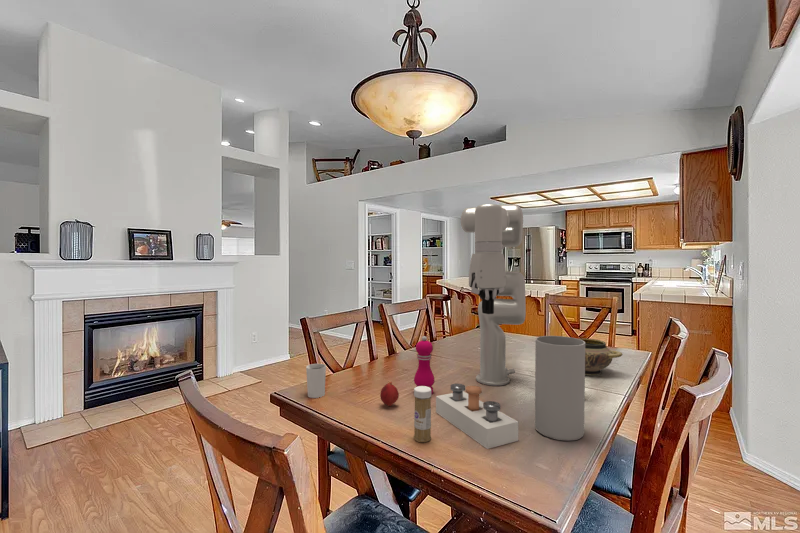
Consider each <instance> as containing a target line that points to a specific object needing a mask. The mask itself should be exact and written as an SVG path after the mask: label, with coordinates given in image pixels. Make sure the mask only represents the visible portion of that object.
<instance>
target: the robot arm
mask: <svg viewBox="0 0 800 533" xmlns="http://www.w3.org/2000/svg"><path fill="white" fill-rule="evenodd" d="M460 226H461V229H462V231H463V232H464V233H468V234H469V233H471V234H472V233H474V253H472V254H471V258H470V263H469V270H468V272H469V273H468V287H470V288H471V290H470V291H471V294H475V295H478V296H479V299H480V300H481V301H480V302H479V303H478V305H477V313H478V314H477V315H478V320H479V321H478V322H479V334H480V336H479V337H480V339H479V341H480V342H479V350H480V351H479V355H480V356H479V373H478V374H477V375H476V376H475V380H476V381H477V383H480V384H482V385H487V386H496V387H498V386H506V385H508V384H509V383H510V377H509V376H510V375H512V374H513V375H515V374H516V370H515V368H509V369H508V368H507V367H506V348H507V347H506V346H507V344H506V343H507V342H506V341H507V340H506V339H507V338H506V333H505V332H504V330H503V329H502V327H500V325H512V326H513V325H516V326H517V325H522V324H524V323H525V321H526V315H527V314H526V312H527V309H526V306H527V305H526V304H527V303H526V281H525V276H524V275H523V273H522V272H520V271H509V270H508V271H507V270H506V259H505V256H504V253H503V250H504V249H505V248H515V247H516V248H517V247H519V246H520V245H521V244H522V243H523V236H524V235H523V233H524V213H523V209H522V208H521V207H520V205H518V204H514V203H513V204H511V203H510V204H495V203H487V204H486V203H485V204H479V205H477V206H475V207H465V208H463V211H462V212H461V215H460ZM497 296H498V297H500V296H501V297H511V298H512V299H509V298H497Z"/></svg>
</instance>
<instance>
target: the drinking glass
mask: <svg viewBox="0 0 800 533" xmlns="http://www.w3.org/2000/svg"><path fill="white" fill-rule="evenodd" d="M305 367H306V368H305V370H306V372H305V373H306V386H307V387H306V390H307V397H308V398H311V399H318V398H319V397H320V398H323V397H324V396H325V394H326V374H327V373H326V372H327V370H326V369H327V365H326V364H324V363H312V364H308V365H306V366H305ZM322 396H323V397H322Z"/></svg>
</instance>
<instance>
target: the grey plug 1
mask: <svg viewBox="0 0 800 533" xmlns="http://www.w3.org/2000/svg"><path fill="white" fill-rule="evenodd" d="M450 391H452V393H453V400H454V401H456V402H457V401H462V400H463V391H464V392H466V385H465V384H462V383H451V384H450Z"/></svg>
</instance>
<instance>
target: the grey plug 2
mask: <svg viewBox="0 0 800 533" xmlns="http://www.w3.org/2000/svg"><path fill="white" fill-rule="evenodd" d="M483 402H484V403H483V408H484V409H485V410H486V420H487V421H488V422H490V423H492V422H497V421H498V411H500V410H501V403H499V402H497V401H493V400H492V401H491V400H487V401H483Z"/></svg>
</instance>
